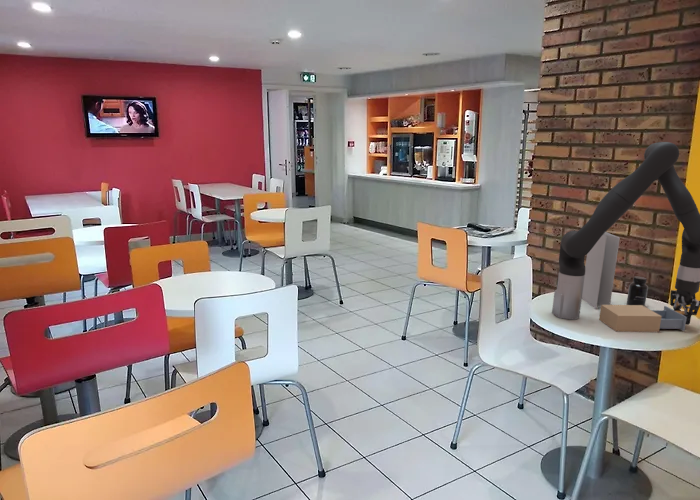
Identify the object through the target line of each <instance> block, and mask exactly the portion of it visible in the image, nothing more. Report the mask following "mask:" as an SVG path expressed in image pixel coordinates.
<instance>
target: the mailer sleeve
mask: <svg viewBox="0 0 700 500" xmlns="http://www.w3.org/2000/svg"><path fill="white" fill-rule="evenodd" d="M661 317H662V316H660V315H659V314H657V313H655V312H653V311H651V309H650V308H648V307H646V306H643V305H628V304H610V305H601V306H600V311H599V318H598V319H599V321H600V322H602V323H604V324H605V325H606V326H607V327H610V329H612V330H613V331H615V332H631V333H632V332H639V333H640V332H642V333H646V332H647V333H649V332H650V333H656V332H657V333H658V332H659V333H660V329H661V328H660V323H661Z"/></svg>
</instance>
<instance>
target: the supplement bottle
mask: <svg viewBox="0 0 700 500" xmlns="http://www.w3.org/2000/svg"><path fill="white" fill-rule="evenodd" d="M647 280H648V278H647V277H644V276H637V275H636V276H633V280H632V282H631V283H630V284H629V285H628V286H629V287H628V293H627V299H626V305H643V306H644V307H646V302H647V296H648V290H649V286H648V285H647Z"/></svg>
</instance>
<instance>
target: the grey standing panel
mask: <svg viewBox="0 0 700 500" xmlns="http://www.w3.org/2000/svg"><path fill="white" fill-rule="evenodd" d="M620 241H621V238H620V236H617V235H614V234H611V233H609V232H608V231H606V232H605V233H604V234H603V235H602V236H601V238H600V239H599V240H598V241H597V243H596V244H595V245H594V247H593V248H592V249H591V250H590V252H589V253H588V254H587V255H586V259H585V260H586V261H585V268H586V270H585V278H584V285H583V293H582V300H583V301H584V302H585V303H586V304H588V305H589V306H591V307H592V308H594V309H595V310H597V309H598V308H597V307H598V306H599V307H601V305H611V302H612V295H613V288H614V281H615V274H616V268H617V259H618V253H619V252H618V251H619V246H620Z"/></svg>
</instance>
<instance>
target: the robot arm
mask: <svg viewBox="0 0 700 500" xmlns="http://www.w3.org/2000/svg"><path fill="white" fill-rule="evenodd" d="M679 156H680V149H679V147H678V146H677V145H676V144H675V143H673V142H671V141H670V142H669V141H659V142H655V143H654V142H653V143H651V144H650V145H649V146H647V147H646V149H645V151H644V153H643V159H644V160H643V162H642V163H641V164H640V165H639V166H638V167H637V168H636V169H635V170H634V171H633V172H632V173H630V174H628V176H626V177H625V178H623V179H622V180H620V181H619V182H618V183H617V184H615V185H614V186H613V187H612V188H611V189H610V190H609V191H608V192H607V193H606V194H605V195H604V196H603V197H602V199H601V200H600V201H599V203H598V204H597V206H596V207H595V209H594V211H593V213H592V215H591V216H590V217H589V220H588V221H587V222H586V223H585V224H584V225H583V226H581V228H579V229H578V230H571V231H568V232H566V233H564V235H563V236H562V238H561V240H560V244H559V256H558V266H559V268H558V275H557V276H558V277H557V286H556V289H554V292H553V301H552V309H551V313H552V314H553V315H555V317H557V318H559V319H565V320H577V319H580V314H581V309H582V308H581V307H582V300H583V299H582V293H583V285H584V278H585V270H586V268H585V266H586V262H585V256H587V254H588V253H589V252H590V250H591V249H592V248H593V247H594V245H595V244H596V243H597V241H598V240H599V239H600V238H601V236H602V235H603V234H604V233H605V232H608V230H609V229H611V227H612V226H614V224H616V222H617V221H618V220H619V219H620V218H621V217H623V215H625V214H626V212H627V211H628V210H630V208H631V207H633V205H634V204H635V203H636V202H637V201H638V200H639V199H640V197H641V196H643V194H644V193H646V191H647V190H648V189H649V188H650V186H651V185H652V184H653V183H654V182H655V181H656V180H658V181H657V182H659V184H660V186H661V188H662V189H663V191H664V193H665V195H666V198H667V199H668V202H669V203H670V207H671V209H672V211H673V214H674V215H675V217H676V219H677V220H678V222H680V223H681V225H682V227H683V231H682V234H681V255H680V259H679V265H678V267H677V268H678V269H677V272H676V278H675V279H676V280H675V284H674V289H675V290H674V289H673V290H669V291H670V293H669V294H670V295H669V296H670V297H669V298H670V300H669V301H670V302H669V303H670V305H669V306H670V307H672V308H673V309H672V310H674V311H682V309H683V311H684V316H686V317H687V319H686V325H690V323H691V320H692V316H697V314H698V312H699V309H700V300H698V299H697V297H696V294H697V293H698V292H699V291H700V212H699V209H698V206H697V204H696V202H695V200H694V197H693V196H692V194H691V192H690V190H689V189H688V188H687V186H686V185H685V184H684V183H683V181H682V179H681V178H680V176H679V175H678V173H677V171H676V168H675V166H674V165H675V164H676V163H677V161H678V160H679ZM686 325H685V326H686Z"/></svg>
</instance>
